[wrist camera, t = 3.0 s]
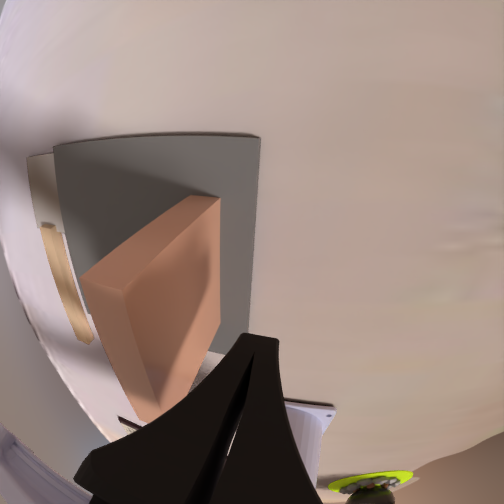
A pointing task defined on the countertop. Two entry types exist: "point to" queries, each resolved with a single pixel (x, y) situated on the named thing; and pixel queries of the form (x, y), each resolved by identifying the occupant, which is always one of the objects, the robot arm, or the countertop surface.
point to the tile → (160, 304)
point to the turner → (55, 239)
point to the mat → (163, 203)
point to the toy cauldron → (371, 486)
